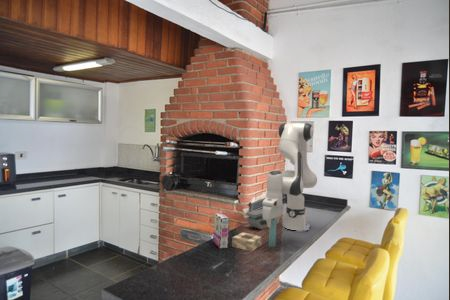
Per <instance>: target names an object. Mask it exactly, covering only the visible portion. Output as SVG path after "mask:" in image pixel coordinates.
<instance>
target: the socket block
mask: <svg viewBox="0 0 450 300" xmlns="http://www.w3.org/2000/svg"><path fill="white" fill-rule="evenodd" d="M262 240H263V236H261V235H256V234H252V233H250V232H249V233H247V232H240V233H239V234H235V236H232V237H231V247H232V248H236V249H239V250H243V251H247V252H251V253H252V252H253V251H255V250H257V249H258V248H260V247H261V246H262V245H263V244H262V243H263V242H262Z"/></svg>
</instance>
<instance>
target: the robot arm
mask: <svg viewBox="0 0 450 300" xmlns="http://www.w3.org/2000/svg"><path fill="white" fill-rule="evenodd" d="M313 135H314V127H313V125H312V124H311V123H308V122H305V123H303V122H289V123H286V122H285V123H281V124H280V125H279V127H278V137H279V138H280V139H279V143H278V152H279V154H280V155H281V156H282V157H283V158H285V159H287V160H289V163H290V164H292V165H293V166H294V170H291V169H290V170H289V169H286V170H272V171H269V172H268V175H267V179H266V196H265V198H264V199H263V200H262V203H261V204H262V209H263V212H262V216H263V220H266V222H267V227H268V228H269V229H270V227H271V219H274V218H275V221H277V222H276V225H277V224H279V221H280V217H281V216H282V215H283V214H284V215H283V221H282V224H283V226H284V227H285V228H287V229H291V230H303V229H305V227H306V225H307V224H308V216H307V215H306V207H305V195H304V194H302V193H303V191H304V189H310V188H311V189H312V188H315V186H316V185H317V183H318V177H317V175H316V173H315V172H313V171H312V170H311V169H310V167H309V165H308V155H307V154H308V141H309V140H311V139H312V138H313ZM284 194H285V195H286V198H287V199H286V200H287V201H286V202H287V204H286V205H287V206H286V208H285V212H286V213H284V203H283V195H284ZM284 227H283V228H284ZM268 228H267V229H268ZM285 228H284V229H285ZM287 229H286V230H287Z"/></svg>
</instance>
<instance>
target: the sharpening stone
mask: <svg viewBox="0 0 450 300" xmlns="http://www.w3.org/2000/svg"><path fill="white" fill-rule="evenodd" d="M262 212H263V208H261V209H256V210H255V209H254V210H251V211H248V212H245V215H246V216H248V217H246V222H248V224H249V226H250V227H251V228H253V227H255V228H254V229H256V228H258V229H257V230H260V229H263V228H265V227H267V222H266V220H263V216H262ZM271 220H275V218H274V219H271ZM263 230H264V229H263Z"/></svg>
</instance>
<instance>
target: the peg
mask: <svg viewBox="0 0 450 300" xmlns="http://www.w3.org/2000/svg"><path fill="white" fill-rule="evenodd" d="M276 222H277V221H275V220H271V227H270V228H269V236H268V247H269V248H276V242H277V241H276V239H277V224H276Z"/></svg>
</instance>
